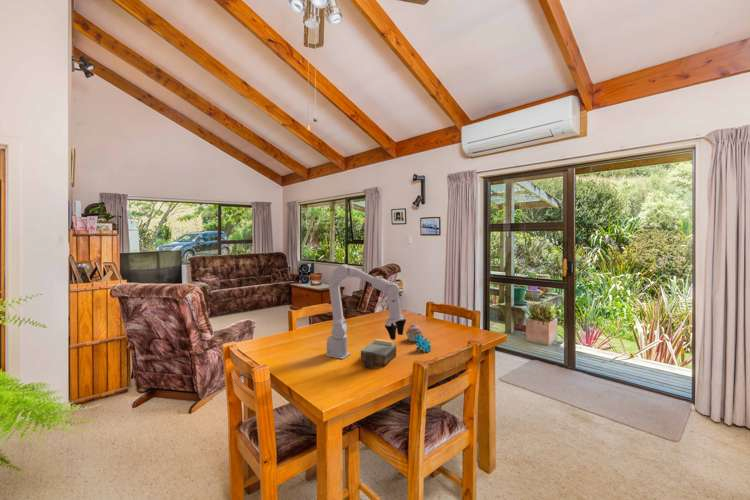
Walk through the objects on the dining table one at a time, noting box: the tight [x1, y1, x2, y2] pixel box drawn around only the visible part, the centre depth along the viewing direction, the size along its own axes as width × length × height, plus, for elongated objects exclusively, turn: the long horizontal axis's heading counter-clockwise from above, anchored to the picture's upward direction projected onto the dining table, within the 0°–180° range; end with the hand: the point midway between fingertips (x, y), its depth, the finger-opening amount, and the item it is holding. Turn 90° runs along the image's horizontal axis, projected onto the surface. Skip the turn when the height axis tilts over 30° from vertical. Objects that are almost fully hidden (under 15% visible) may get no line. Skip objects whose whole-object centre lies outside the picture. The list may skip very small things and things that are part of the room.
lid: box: [360, 338, 397, 356], centre depth 166 cm, size 12×15×2 cm
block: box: [364, 352, 374, 370], centre depth 156 cm, size 3×3×6 cm
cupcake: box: [405, 322, 423, 343], centre depth 195 cm, size 9×9×10 cm
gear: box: [415, 334, 432, 354], centre depth 181 cm, size 11×6×10 cm
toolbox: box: [360, 346, 397, 368], centre depth 167 cm, size 12×15×4 cm
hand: (396, 337), depth 167 cm, fingers open, 7 cm apart
